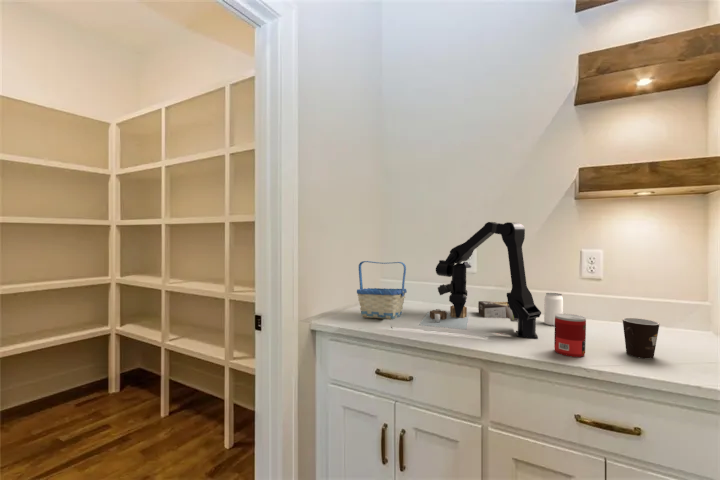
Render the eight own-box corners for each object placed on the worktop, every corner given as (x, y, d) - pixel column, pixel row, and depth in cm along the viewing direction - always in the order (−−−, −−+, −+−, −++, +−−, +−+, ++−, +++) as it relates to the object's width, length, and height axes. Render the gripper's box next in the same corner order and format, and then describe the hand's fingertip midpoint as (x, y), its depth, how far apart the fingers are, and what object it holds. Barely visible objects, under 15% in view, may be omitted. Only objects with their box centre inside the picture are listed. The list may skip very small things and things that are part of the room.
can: (561, 327, 138) (561, 295, 138) (542, 324, 142) (543, 294, 142) (563, 323, 143) (564, 293, 143) (545, 321, 147) (546, 292, 147)
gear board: (466, 332, 128) (466, 321, 128) (418, 328, 134) (418, 316, 134) (468, 318, 151) (468, 308, 151) (427, 314, 157) (428, 305, 157)
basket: (410, 316, 153) (411, 261, 153) (396, 324, 139) (396, 263, 139) (367, 311, 163) (367, 259, 163) (349, 318, 149) (349, 261, 148)
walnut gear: (445, 320, 142) (445, 312, 142) (428, 318, 144) (428, 310, 144) (447, 316, 148) (447, 308, 148) (431, 315, 150) (431, 307, 150)
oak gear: (466, 318, 145) (466, 308, 145) (449, 317, 147) (449, 307, 147) (466, 315, 151) (467, 305, 151) (450, 314, 153) (451, 304, 153)
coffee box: (524, 305, 147) (484, 304, 147) (524, 321, 147) (484, 320, 148) (515, 301, 156) (478, 300, 157) (515, 316, 156) (477, 315, 157)
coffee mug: (642, 350, 111) (642, 317, 111) (666, 360, 102) (667, 324, 102) (605, 350, 110) (605, 317, 110) (626, 360, 102) (627, 324, 102)
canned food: (589, 358, 103) (590, 320, 103) (559, 356, 104) (560, 318, 104) (579, 350, 110) (579, 314, 110) (550, 348, 112) (551, 312, 112)
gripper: (441, 274, 160) (441, 309, 161) (436, 279, 143) (435, 319, 143) (467, 276, 157) (467, 311, 157) (465, 281, 139) (465, 321, 139)
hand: (458, 315), depth 149 cm, fingers closed on oak gear, 6 cm apart
